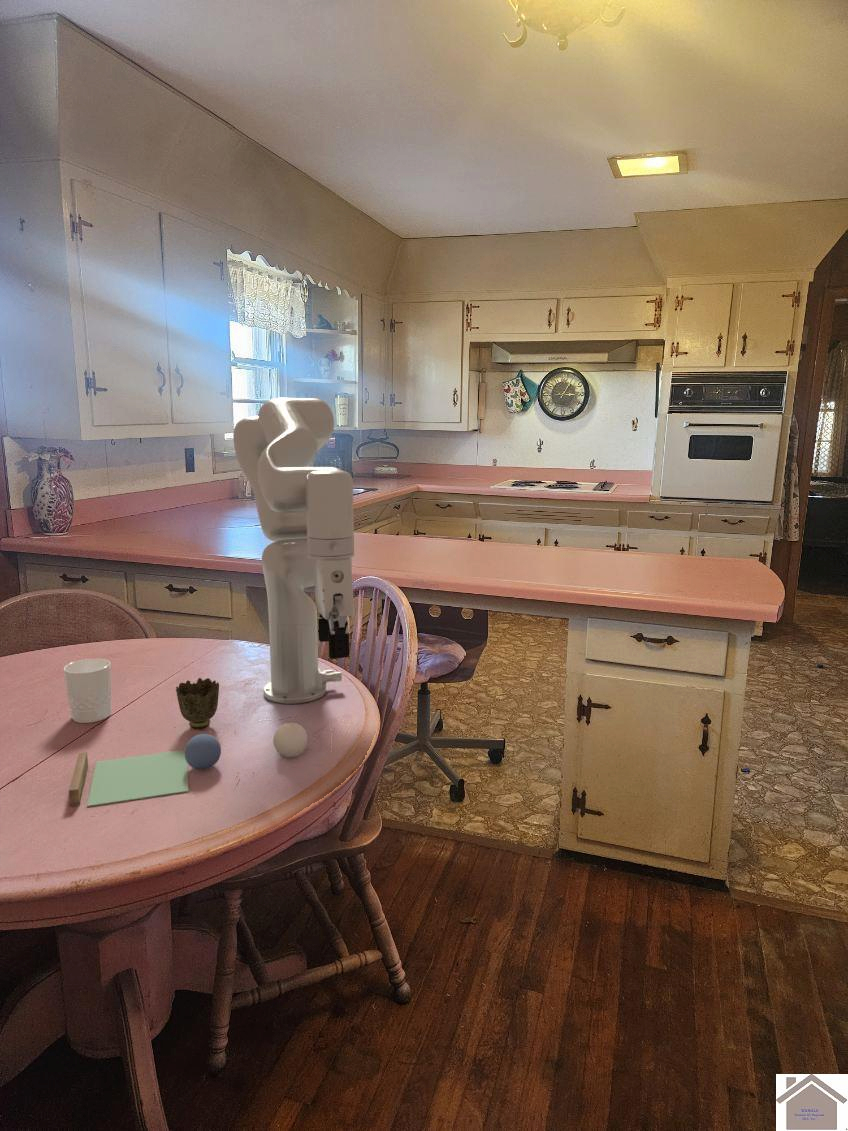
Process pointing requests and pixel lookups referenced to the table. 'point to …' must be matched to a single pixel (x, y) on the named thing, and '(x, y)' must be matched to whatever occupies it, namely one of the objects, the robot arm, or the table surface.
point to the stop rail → (78, 779)
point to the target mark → (138, 778)
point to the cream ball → (290, 740)
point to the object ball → (202, 751)
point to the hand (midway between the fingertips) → (333, 648)
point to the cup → (198, 702)
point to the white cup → (89, 689)
